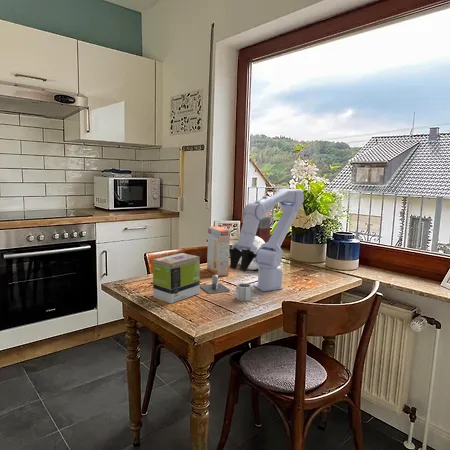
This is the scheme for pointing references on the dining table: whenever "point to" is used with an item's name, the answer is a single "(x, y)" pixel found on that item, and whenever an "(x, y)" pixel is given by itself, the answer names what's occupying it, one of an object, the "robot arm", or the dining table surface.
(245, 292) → the collar
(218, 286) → the duct stub
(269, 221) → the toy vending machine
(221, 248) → the cracker box
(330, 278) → the dining table surface
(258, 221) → the robot arm
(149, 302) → the dining table surface
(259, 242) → the cauliflower
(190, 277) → the tea box
